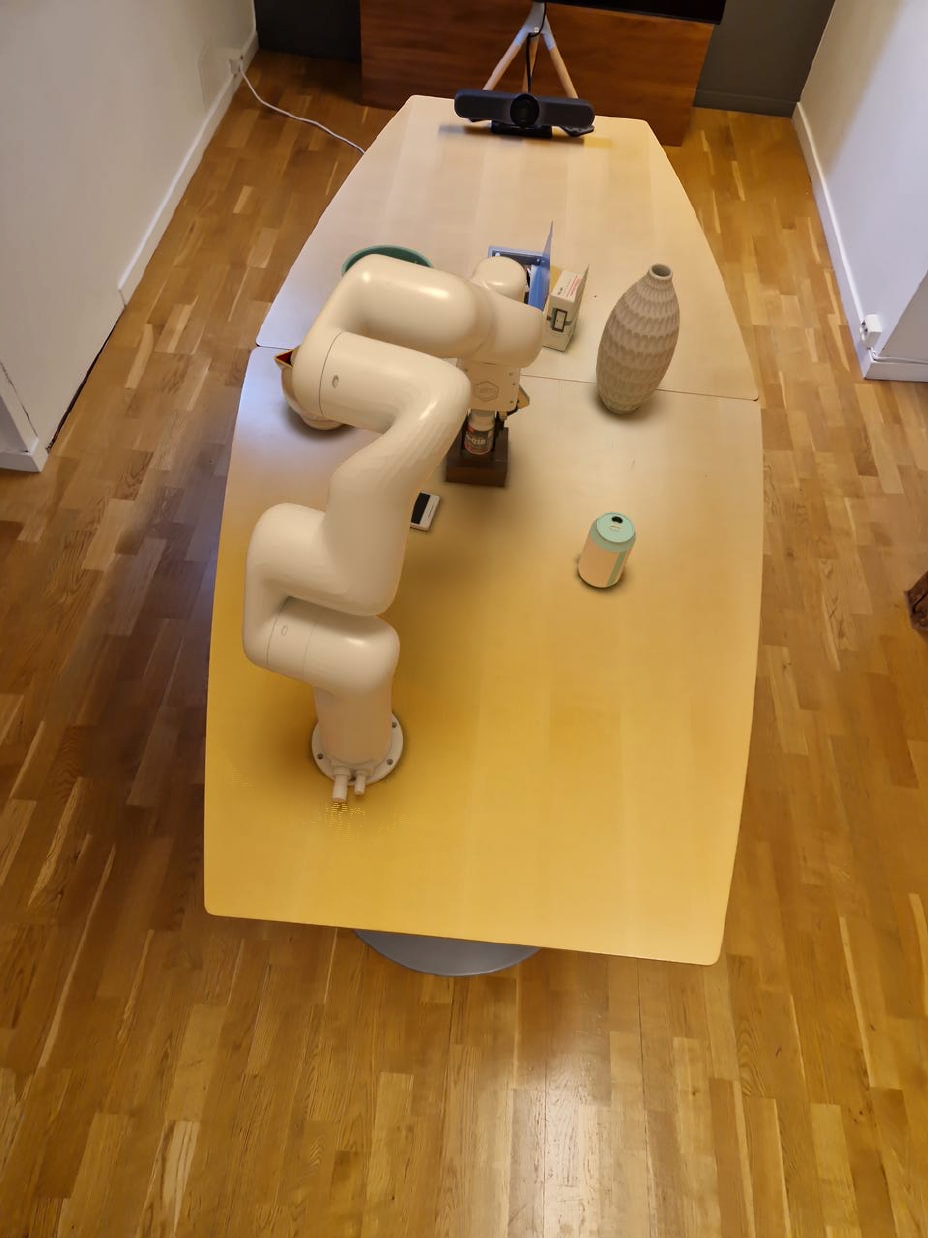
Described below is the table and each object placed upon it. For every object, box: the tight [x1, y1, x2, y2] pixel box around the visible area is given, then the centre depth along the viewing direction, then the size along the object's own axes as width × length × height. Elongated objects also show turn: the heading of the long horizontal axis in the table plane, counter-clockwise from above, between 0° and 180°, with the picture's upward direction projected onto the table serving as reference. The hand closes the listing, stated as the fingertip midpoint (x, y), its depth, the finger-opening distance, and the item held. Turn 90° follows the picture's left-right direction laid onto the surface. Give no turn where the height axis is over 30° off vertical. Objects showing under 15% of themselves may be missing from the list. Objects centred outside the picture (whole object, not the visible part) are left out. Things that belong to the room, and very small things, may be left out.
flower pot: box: [341, 244, 435, 278], centre depth 149 cm, size 16×16×16 cm
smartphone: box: [410, 490, 441, 532], centre depth 136 cm, size 7×15×1 cm, turn 74°
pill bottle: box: [465, 409, 496, 455], centre depth 135 cm, size 5×5×8 cm
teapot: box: [273, 343, 345, 431], centre depth 139 cm, size 18×14×16 cm
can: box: [577, 511, 637, 588], centre depth 127 cm, size 7×7×12 cm
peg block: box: [444, 426, 510, 488], centre depth 141 cm, size 10×10×4 cm
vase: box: [595, 262, 681, 415], centre depth 140 cm, size 13×13×28 cm
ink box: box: [542, 262, 590, 352], centre depth 155 cm, size 8×5×15 cm, turn 160°
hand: (480, 429), depth 135 cm, fingers closed on pill bottle, 4 cm apart
